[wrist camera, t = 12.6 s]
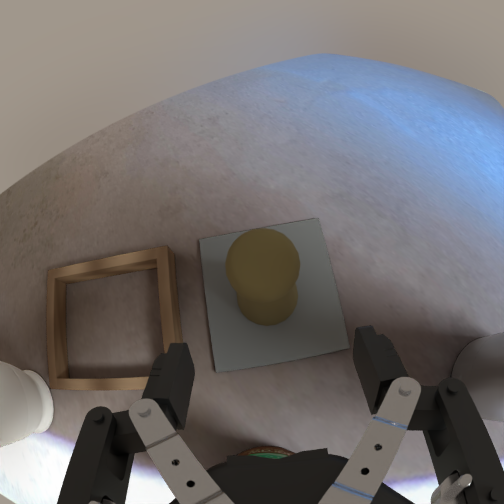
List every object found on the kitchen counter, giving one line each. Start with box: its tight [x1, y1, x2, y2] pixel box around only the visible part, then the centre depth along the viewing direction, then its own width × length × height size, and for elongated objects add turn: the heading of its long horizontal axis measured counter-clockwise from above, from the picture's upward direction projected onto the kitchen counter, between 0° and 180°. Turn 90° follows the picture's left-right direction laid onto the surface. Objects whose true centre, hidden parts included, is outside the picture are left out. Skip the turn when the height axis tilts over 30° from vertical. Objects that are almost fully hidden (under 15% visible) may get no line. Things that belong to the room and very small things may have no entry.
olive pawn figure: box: [225, 228, 300, 326], centre depth 25 cm, size 6×6×11 cm
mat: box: [199, 218, 350, 373], centre depth 30 cm, size 13×14×1 cm
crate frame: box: [46, 246, 183, 390], centre depth 29 cm, size 16×14×2 cm
